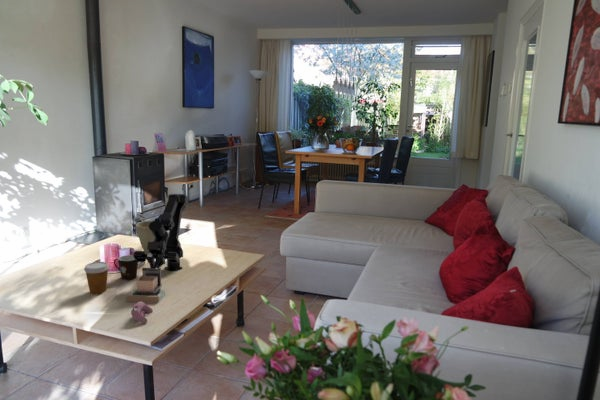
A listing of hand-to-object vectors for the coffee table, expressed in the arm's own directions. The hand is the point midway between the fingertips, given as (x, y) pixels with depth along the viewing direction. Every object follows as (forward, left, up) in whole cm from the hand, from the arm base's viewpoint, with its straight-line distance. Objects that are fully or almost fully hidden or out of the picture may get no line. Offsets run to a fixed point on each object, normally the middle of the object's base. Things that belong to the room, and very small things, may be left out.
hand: (152, 274), depth 187 cm
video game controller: (+20, -16, -8) cm, 27 cm away
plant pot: (-51, +30, -8) cm, 60 cm away
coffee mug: (-23, +1, -8) cm, 25 cm away
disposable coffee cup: (-16, -16, -8) cm, 24 cm away
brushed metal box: (+3, -4, -7) cm, 9 cm away
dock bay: (+5, -6, -8) cm, 11 cm away
